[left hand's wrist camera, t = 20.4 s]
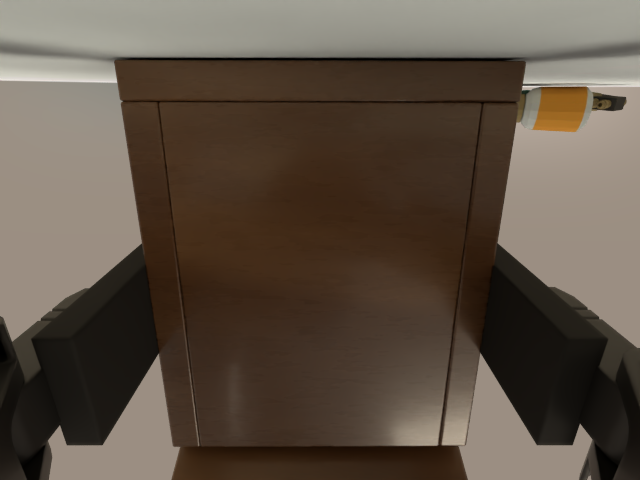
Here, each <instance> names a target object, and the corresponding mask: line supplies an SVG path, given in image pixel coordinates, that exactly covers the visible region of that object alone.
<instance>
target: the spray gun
mask: <svg viewBox="0 0 640 480" xmlns="http://www.w3.org/2000/svg"><path fill="white" fill-rule="evenodd" d="M516 103H518V104H519V108H518V114H517V121H516V122H520V121H521V124H522V125H523V126H524V127H525V128H528V129H531V130H547V131H565V132H576V131H579V130H580V129H581V128H582V127H584V126H585V124H586V123H587V121H588V119H589V116H590V114H591V111H597V110H606V111H616V110H622V109H623V106H624V105H625V104H626V97H618V96H611V95H604V94H601V93H595V92H591V91H590V89H589V88H588V87H538V88H534V89H532V90H531V91H530V90H523V91H522V92H521V98H520V101H519V102H516Z"/></svg>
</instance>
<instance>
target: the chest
mask: <svg viewBox="0 0 640 480" xmlns="http://www.w3.org/2000/svg"><path fill="white" fill-rule="evenodd" d="M114 63H115V70H116V76H117V83H118V89H119V96H120V100H121V101H123V102H121V108H122V115H123V121H124V128H125V134H126V141H127V148H128V154H129V161H130V167H131V174H132V180H133V187H134V193H135V200H136V206H137V213H138V220H139V226H140V233H141V239H142V246H143V253H144V259H145V266H146V272H147V279H148V285H149V292H150V299H151V305H152V312H153V318H154V325H155V331H156V338H157V344H158V351H159V358H160V364H161V371H162V377H163V384H164V390H165V397H166V404H167V410H168V417H169V423H170V430H171V436H172V443H173V446H174V447H199V446H200V445H201V446H202V447H322V446H438V445H440V446H465V445H466V441H467V434H468V428H469V422H470V415H471V409H472V402H473V396H474V390H475V383H476V377H477V370H478V364H479V357H480V351H481V344H482V338H483V331H484V325H485V318H486V312H487V305H488V299H489V292H490V286H491V279H492V273H493V266H494V262H495V255H496V249H497V242H498V236H499V230H500V223H501V217H502V210H503V204H504V198H505V191H506V185H507V178H508V172H509V166H510V159H511V153H512V146H513V140H514V134H515V127H516V121H517V114H518V108H519V104H518V103H516V102H519V101H520V98H521V92H522V85H523V79H524V73H525V66H526V62H525V61H360V60H115V62H114Z"/></svg>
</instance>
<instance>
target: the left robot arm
mask: <svg viewBox="0 0 640 480" xmlns="http://www.w3.org/2000/svg"><path fill="white" fill-rule="evenodd" d="M480 353H481V354H482V356H483V358H484V359H485V361H486V363H487V364H488V366H489V367H490V369H491V371H492V372H493V374H494V376H495V377H496V379H497V381H498V382H499V384H500V385H501V387H502V389H503V390H504V392H505V394H506V395H507V397H508V399H509V400H510V402H511V403H512V405H513V407H514V408H515V410H516V412H517V413H518V415H519V416H520V418H521V420H522V421H523V423H524V425H525V426H526V428H527V430H528V431H529V433H530V434H531V436H532V438H533V439H534V441H535V443H536V444H537V445H573V442H574V439H575V436H576V433H577V430H578V428H579V425H580V424H581V425H582V426H583V428H584V429H585V430H586V432H587V433H588V434H589V435H590V437H591V438H592V439H593V440H592V443H591V446H590V448H589V451H588V454H587V457H586V459H585V462H584V465H583V468H582V470H581V473H580V477H579V480H587V478H588V476H590V475H591V479H592V480H640V348H637V347H635V346H634V345H633V344H632V343H630V342H629V341H628V340H627V339H625V338H624V337H623V336H622V335H621V334H619V333H618V332H617V331H616V330H614V329H613V328H612V327H611V326H609V325H608V324H607V323H606V322H604V321H603V320H601V319H599V317H598V316H597V315H596V314H595V313H593V312H592V311H591V310H588V309H587V307H586V306H585V305H584V304H582V303H581V302H580V301H579V300H577V299H576V298H575V297H574V296H572V295H570V294H568V293H565V292H564V291H562V290H559V289H557V288H555V287H548V286H547V285H545V284H544V283H543V282H542V281H541V280H540V279H538V278H537V277H536V276H535V275H534V274H533V273H531V272H530V271H529V270H528V269H527V268H526V267H524V266H523V265H522V264H521V263H520V262H519V261H517V260H516V259H515V258H514V257H513V256H512V255H510V254H509V253H508V252H507V251H506V250H505V249H503V248H502V247H501V246H500V245H499V244H498V243H497V249H496V255H495V262H494V266H493V273H492V279H491V286H490V292H489V299H488V305H487V312H486V318H485V325H484V331H483V338H482V344H481V351H480ZM158 354H159V351H158V344H157V338H156V331H155V325H154V318H153V312H152V305H151V299H150V292H149V285H148V279H147V272H146V266H145V259H144V253H143V246H142V244H141V245H139V246H138V247H137V248H136V249H135V250H134V251H132V252H131V253H130V254H129V255H128V256H127V257H126V258H124V259H123V260H122V261H121V262H120V263H119V264H117V265H116V266H115V267H114V268H113V269H112V270H110V271H109V272H108V273H107V274H106V275H105V276H103V277H102V278H101V279H100V280H99V281H98V282H96V283H95V284H94V285H93V286H92V287H91V288H86V289H83V290H81V291H79V292H77V293H75V294H73V295H71V296H69V297H67V298H65V299H64V300H63V301H62V302H60V303H59V304H58V305H57V306H56V307H54V308H53V309H52V311H50V312H48V313H47V314H46V315H45V316H43V317H42V318H41V321H37V322H36V323H35V324H34V325H32V326H31V327H30V328H29V329H28V330H26V331H25V332H24V333H23V334H21V335H20V336H19V337H18V338H17V339H15V340H14V341H13V342H12V341H11V338H10V335H9V333H8V330H7V327H6V324H5V321H4V319H3V318H2V317H1V316H0V480H49V474H50V468H51V461H52V453H51V448H50V446H49V443H48V440H49V438H50V437H51V436H52V434H53V433H54V432H55V430H56V429H57V428H58V427H59V425H60V426H61V429H62V432H63V435H64V438H65V441H66V444H67V445H103V443H104V442H105V440H106V439H107V437H108V435H109V434H110V432H111V430H112V429H113V427H114V425H115V424H116V422H117V421H118V419H119V417H120V416H121V414H122V412H123V411H124V409H125V408H126V406H127V404H128V403H129V401H130V399H131V398H132V396H133V394H134V393H135V391H136V389H137V388H138V386H139V385H140V383H141V381H142V380H143V378H144V376H145V375H146V373H147V372H148V370H149V368H150V367H151V365H152V363H153V362H154V360H155V359H156V357H157V355H158Z"/></svg>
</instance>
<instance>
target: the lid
mask: <svg viewBox="0 0 640 480" xmlns="http://www.w3.org/2000/svg"><path fill="white" fill-rule="evenodd" d="M172 480H468V479H467V475H466V472H465V468H464V464H463V461H462V457H461V453H460V450H459V447H458V446H440V445H438V446H322V447H202V446H201V445H200V446H199V447H180V450H179V453H178V457H177V461H176V465H175V469H174V472H173V476H172Z"/></svg>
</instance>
